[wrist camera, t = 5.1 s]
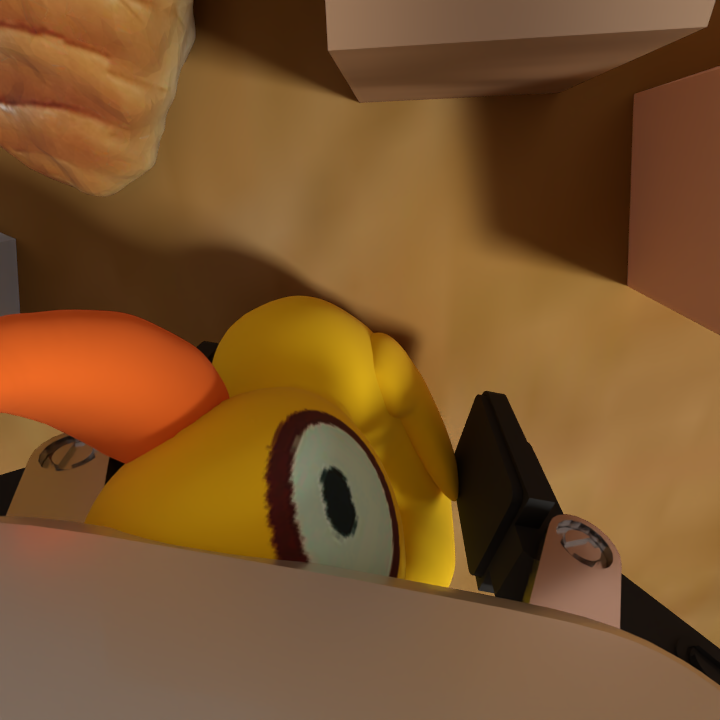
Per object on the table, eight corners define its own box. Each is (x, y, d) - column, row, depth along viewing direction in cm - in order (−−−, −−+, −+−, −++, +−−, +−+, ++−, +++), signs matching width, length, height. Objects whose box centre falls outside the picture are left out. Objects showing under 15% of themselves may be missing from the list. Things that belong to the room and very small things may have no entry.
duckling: (182, 271, 12) (-374, 545, 3) (308, 173, 10) (-177, 220, 2) (364, 486, 16) (323, 867, 7) (477, 442, 14) (599, 874, 6)
